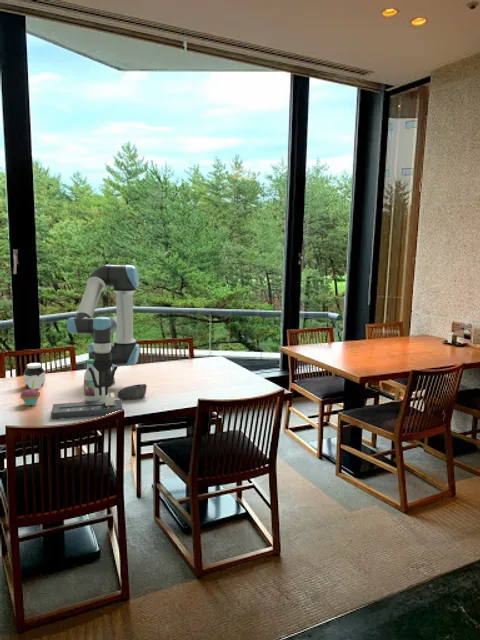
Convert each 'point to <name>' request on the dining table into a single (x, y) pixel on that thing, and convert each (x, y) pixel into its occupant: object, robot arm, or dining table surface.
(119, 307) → the robot arm
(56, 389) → the dining table surface
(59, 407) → the fader console
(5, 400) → the dining table surface
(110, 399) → the fader knob
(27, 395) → the cupcake
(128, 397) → the perforated stone tool
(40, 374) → the spread jar
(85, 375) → the milk bottle
